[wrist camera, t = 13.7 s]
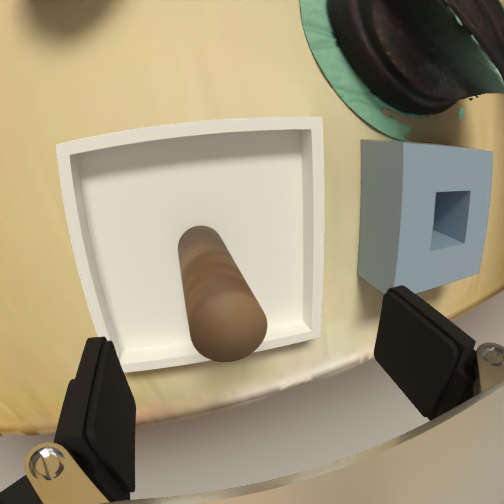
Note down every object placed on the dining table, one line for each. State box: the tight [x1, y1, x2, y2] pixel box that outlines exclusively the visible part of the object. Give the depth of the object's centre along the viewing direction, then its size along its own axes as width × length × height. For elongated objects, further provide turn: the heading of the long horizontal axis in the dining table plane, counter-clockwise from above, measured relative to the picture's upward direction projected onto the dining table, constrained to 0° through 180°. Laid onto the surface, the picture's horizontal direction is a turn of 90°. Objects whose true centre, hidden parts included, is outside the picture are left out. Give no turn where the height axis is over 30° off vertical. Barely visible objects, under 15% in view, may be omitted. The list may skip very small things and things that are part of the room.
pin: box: [178, 226, 267, 362], centre depth 17 cm, size 3×3×10 cm
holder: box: [357, 140, 493, 294], centre depth 23 cm, size 11×11×5 cm
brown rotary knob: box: [300, 0, 504, 142], centre depth 16 cm, size 20×20×9 cm
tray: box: [56, 117, 324, 373], centre depth 21 cm, size 16×16×2 cm
